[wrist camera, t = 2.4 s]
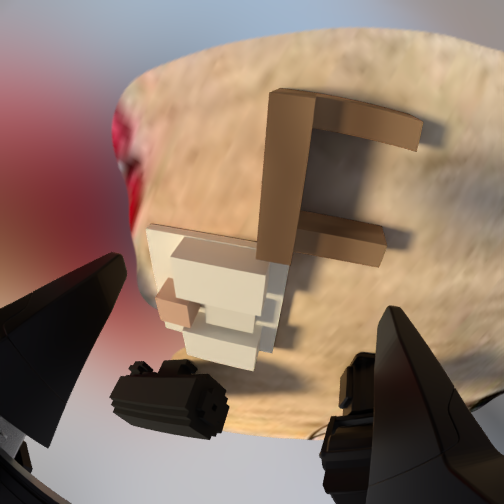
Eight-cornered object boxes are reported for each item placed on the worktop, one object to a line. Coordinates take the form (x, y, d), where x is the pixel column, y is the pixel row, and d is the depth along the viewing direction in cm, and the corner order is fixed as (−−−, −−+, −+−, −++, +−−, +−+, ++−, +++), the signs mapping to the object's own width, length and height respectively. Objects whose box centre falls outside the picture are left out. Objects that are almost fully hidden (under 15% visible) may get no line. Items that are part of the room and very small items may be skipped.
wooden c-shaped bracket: (410, 114, 14) (432, 127, 11) (374, 246, 20) (381, 282, 17) (280, 88, 15) (269, 92, 12) (267, 226, 21) (255, 259, 18)
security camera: (122, 352, 40) (94, 403, 32) (214, 344, 32) (185, 420, 24) (150, 377, 43) (127, 426, 35) (243, 376, 35) (223, 445, 27)
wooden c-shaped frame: (292, 248, 22) (286, 278, 19) (273, 347, 30) (267, 374, 27) (150, 223, 24) (129, 247, 21) (168, 322, 31) (156, 345, 29)
